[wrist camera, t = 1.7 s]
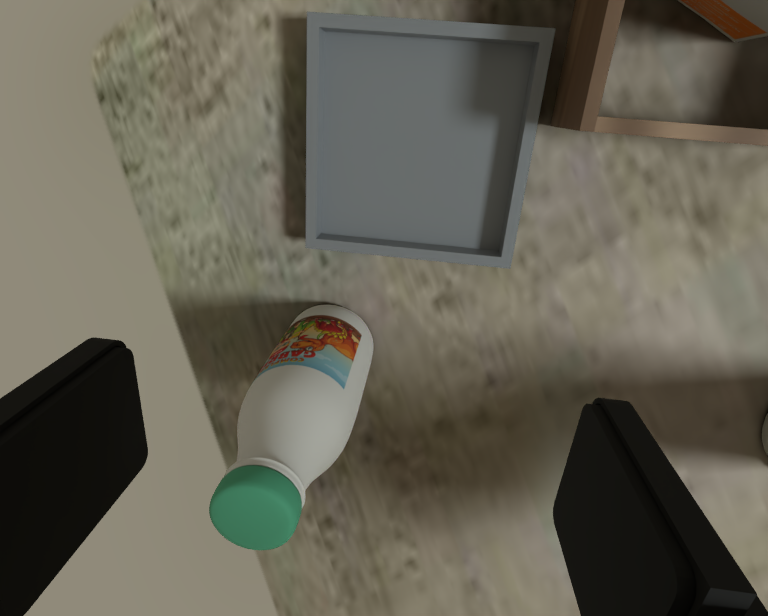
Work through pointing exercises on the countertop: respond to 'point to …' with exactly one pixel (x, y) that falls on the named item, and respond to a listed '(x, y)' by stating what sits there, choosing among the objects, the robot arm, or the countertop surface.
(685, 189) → the countertop surface
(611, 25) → the walnut bin
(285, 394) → the milk bottle
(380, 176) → the grey tray
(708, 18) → the skincare box
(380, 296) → the countertop surface
